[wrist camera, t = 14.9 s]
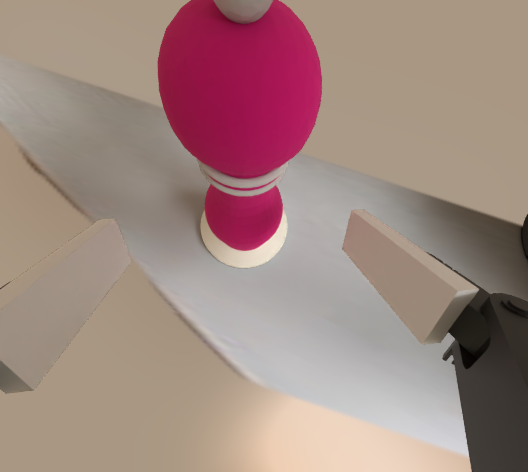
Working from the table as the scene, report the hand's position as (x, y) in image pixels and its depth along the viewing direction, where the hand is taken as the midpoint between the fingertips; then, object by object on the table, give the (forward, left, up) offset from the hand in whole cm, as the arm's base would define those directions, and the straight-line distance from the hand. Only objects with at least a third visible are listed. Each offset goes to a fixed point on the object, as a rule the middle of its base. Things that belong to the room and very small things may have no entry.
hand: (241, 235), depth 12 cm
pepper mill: (+4, -2, -11) cm, 12 cm away
